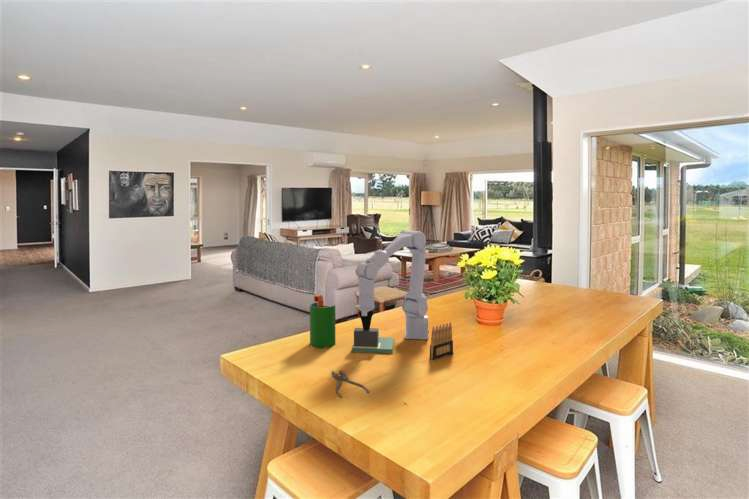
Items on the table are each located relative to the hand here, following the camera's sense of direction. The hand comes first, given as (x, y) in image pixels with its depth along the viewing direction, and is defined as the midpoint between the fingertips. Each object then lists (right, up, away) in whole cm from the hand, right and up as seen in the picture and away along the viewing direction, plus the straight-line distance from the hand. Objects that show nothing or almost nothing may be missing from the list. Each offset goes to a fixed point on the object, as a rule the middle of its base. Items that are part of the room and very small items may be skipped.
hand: (366, 329), depth 173 cm
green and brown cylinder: (-17, -7, +7) cm, 20 cm away
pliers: (-7, -12, -31) cm, 34 cm away
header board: (+3, -7, +4) cm, 9 cm away
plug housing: (0, -6, +1) cm, 6 cm away
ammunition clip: (+28, -9, -6) cm, 29 cm away
